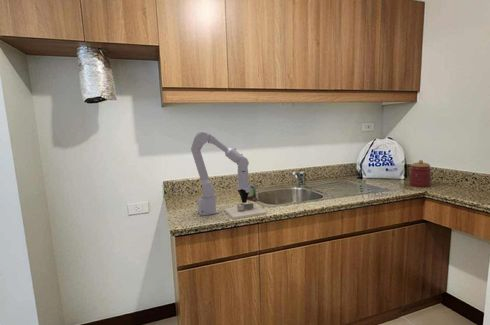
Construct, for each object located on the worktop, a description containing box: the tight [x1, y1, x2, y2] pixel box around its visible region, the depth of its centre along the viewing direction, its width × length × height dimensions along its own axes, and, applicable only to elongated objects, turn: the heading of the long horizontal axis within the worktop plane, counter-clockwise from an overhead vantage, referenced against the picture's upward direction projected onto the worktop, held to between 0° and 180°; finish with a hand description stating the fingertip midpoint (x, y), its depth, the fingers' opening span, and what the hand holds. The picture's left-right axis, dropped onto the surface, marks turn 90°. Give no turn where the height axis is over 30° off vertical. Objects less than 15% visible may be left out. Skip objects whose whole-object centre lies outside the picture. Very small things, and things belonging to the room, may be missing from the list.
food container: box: [247, 182, 258, 202], centre depth 171 cm, size 12×6×10 cm, turn 44°
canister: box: [408, 159, 433, 188], centre depth 188 cm, size 13×13×18 cm
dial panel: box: [223, 203, 267, 221], centre depth 145 cm, size 18×16×1 cm
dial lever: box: [236, 202, 254, 211], centre depth 145 cm, size 9×4×3 cm, turn 111°
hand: (244, 202), depth 151 cm, fingers closed
